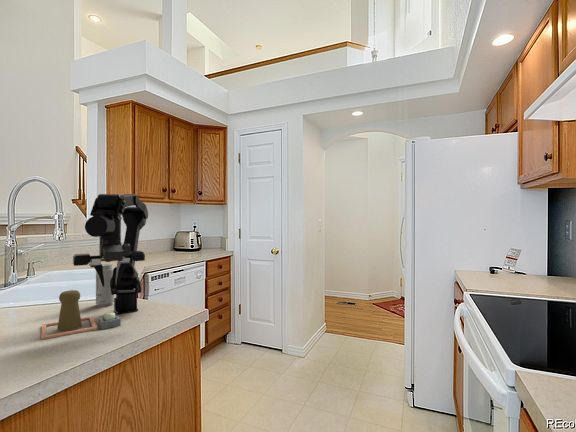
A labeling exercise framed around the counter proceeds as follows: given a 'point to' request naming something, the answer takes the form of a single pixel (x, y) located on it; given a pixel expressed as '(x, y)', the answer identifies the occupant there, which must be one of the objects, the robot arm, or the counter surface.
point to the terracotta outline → (44, 336)
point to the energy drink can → (104, 292)
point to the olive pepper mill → (69, 311)
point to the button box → (109, 322)
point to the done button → (109, 316)
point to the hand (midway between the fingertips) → (110, 285)
